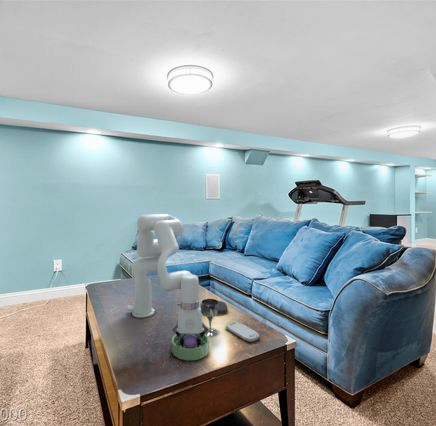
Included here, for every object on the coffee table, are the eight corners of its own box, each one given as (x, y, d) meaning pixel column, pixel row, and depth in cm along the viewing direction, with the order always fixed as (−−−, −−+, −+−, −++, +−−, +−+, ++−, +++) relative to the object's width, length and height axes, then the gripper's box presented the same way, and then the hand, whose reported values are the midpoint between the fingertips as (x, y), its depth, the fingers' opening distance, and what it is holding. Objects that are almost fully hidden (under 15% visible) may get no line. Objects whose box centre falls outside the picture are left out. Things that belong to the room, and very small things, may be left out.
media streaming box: (228, 314, 150) (228, 309, 150) (202, 315, 149) (202, 310, 149) (223, 304, 164) (223, 299, 164) (199, 305, 163) (199, 300, 163)
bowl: (170, 361, 106) (169, 349, 106) (173, 341, 122) (173, 330, 122) (209, 362, 106) (209, 349, 106) (208, 341, 122) (208, 330, 121)
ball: (182, 352, 111) (182, 338, 111) (183, 345, 117) (183, 331, 117) (197, 352, 111) (197, 338, 111) (197, 345, 117) (197, 331, 117)
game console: (223, 323, 134) (235, 319, 138) (223, 328, 134) (235, 324, 138) (249, 339, 118) (262, 334, 123) (249, 344, 118) (262, 339, 123)
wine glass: (213, 338, 124) (213, 306, 124) (199, 333, 128) (198, 302, 128) (221, 331, 131) (221, 300, 130) (207, 327, 135) (206, 297, 135)
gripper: (168, 308, 110) (169, 351, 110) (210, 308, 109) (211, 351, 110) (170, 301, 117) (171, 342, 118) (210, 301, 117) (210, 342, 117)
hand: (190, 346), depth 114 cm, fingers closed on ball, 5 cm apart
